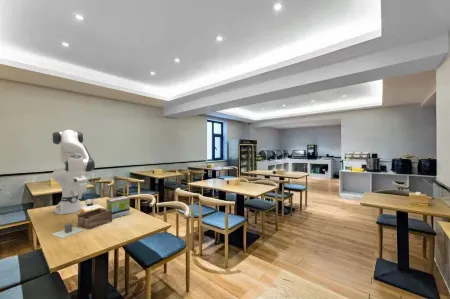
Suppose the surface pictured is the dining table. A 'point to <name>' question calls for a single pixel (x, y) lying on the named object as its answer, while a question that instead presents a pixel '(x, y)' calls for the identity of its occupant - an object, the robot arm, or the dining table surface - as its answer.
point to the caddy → (94, 218)
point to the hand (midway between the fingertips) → (76, 197)
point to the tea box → (119, 206)
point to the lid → (67, 231)
